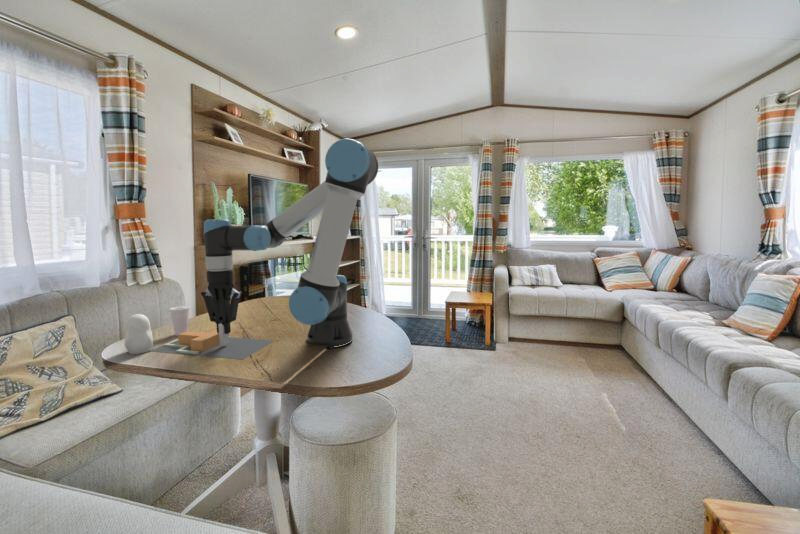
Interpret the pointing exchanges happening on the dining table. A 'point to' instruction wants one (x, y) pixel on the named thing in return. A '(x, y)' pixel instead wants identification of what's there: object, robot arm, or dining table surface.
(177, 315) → the smoothie
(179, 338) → the t block
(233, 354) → the mat
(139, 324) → the figurine
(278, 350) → the dining table surface
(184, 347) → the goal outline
